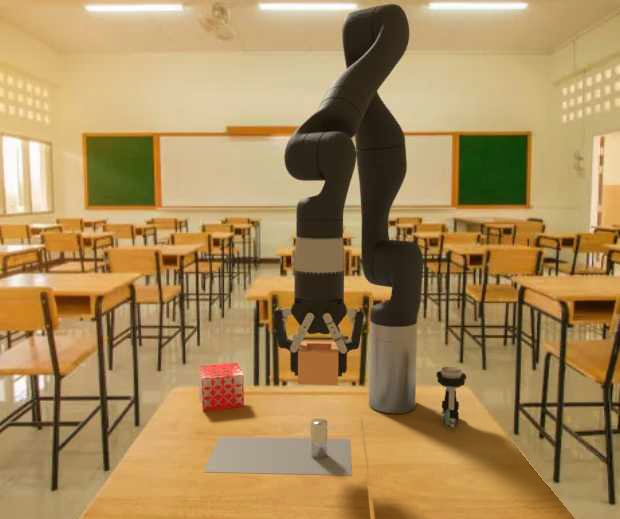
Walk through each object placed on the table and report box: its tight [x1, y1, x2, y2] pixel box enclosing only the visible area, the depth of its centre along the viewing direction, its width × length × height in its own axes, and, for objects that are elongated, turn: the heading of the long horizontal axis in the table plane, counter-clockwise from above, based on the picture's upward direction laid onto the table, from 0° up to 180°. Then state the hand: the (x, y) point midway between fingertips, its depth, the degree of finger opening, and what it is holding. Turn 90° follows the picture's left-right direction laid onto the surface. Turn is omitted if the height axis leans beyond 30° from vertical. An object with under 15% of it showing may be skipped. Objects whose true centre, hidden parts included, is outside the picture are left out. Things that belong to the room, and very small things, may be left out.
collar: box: [297, 340, 339, 386], centre depth 86 cm, size 6×6×5 cm
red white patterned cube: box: [198, 362, 245, 411], centre depth 110 cm, size 8×8×8 cm
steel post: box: [310, 418, 328, 459], centre depth 88 cm, size 3×3×7 cm
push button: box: [436, 366, 467, 428], centre depth 103 cm, size 7×5×10 cm
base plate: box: [203, 436, 353, 477], centre depth 88 cm, size 12×22×2 cm, turn 88°
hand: (318, 374), depth 86 cm, fingers closed on collar, 6 cm apart
